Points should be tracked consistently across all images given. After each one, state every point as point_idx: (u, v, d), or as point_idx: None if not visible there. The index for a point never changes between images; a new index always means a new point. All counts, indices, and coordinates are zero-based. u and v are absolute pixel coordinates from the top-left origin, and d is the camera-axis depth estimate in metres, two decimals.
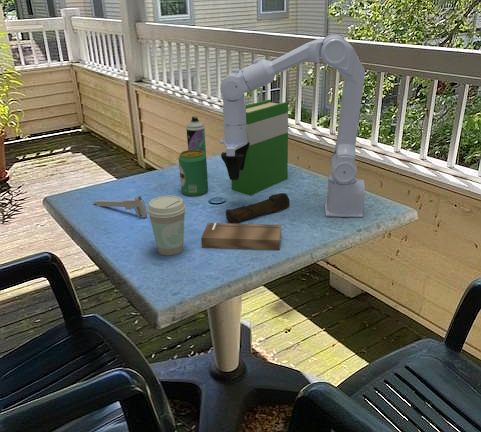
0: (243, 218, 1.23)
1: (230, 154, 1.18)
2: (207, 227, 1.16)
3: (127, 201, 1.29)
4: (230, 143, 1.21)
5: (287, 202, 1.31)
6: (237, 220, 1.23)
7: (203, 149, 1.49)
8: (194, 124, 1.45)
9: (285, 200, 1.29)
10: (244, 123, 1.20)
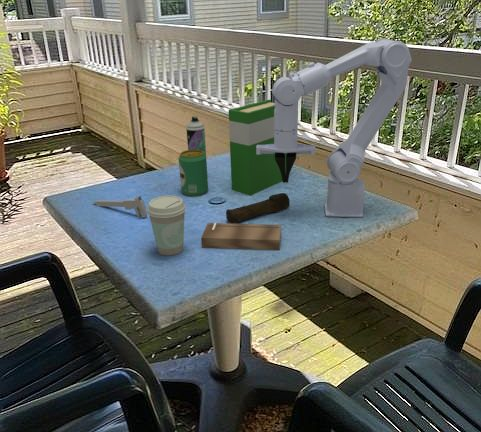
0: (243, 218, 1.23)
1: None
2: (207, 227, 1.16)
3: (127, 201, 1.29)
4: None
5: (288, 202, 1.31)
6: (237, 220, 1.22)
7: (203, 149, 1.49)
8: (194, 124, 1.45)
9: (285, 200, 1.29)
10: (297, 128, 1.17)
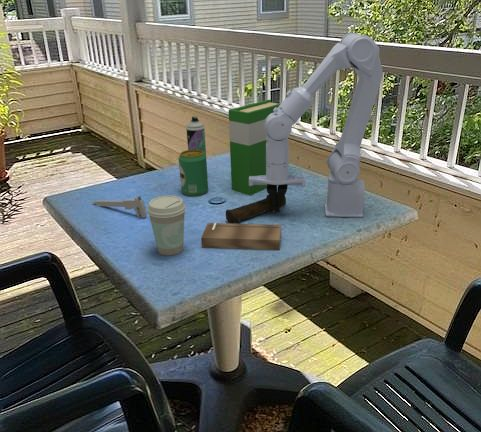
0: (243, 218, 1.23)
1: (249, 182, 1.25)
2: (207, 227, 1.16)
3: (127, 201, 1.29)
4: None
5: (284, 200, 1.32)
6: (238, 220, 1.23)
7: (203, 149, 1.49)
8: (194, 124, 1.45)
9: None
10: (288, 161, 1.20)
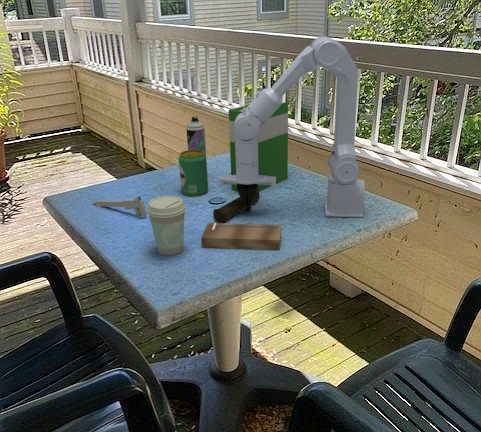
0: (231, 215, 1.25)
1: None
2: (207, 227, 1.16)
3: (127, 201, 1.29)
4: None
5: (258, 194, 1.37)
6: (227, 218, 1.24)
7: (203, 149, 1.49)
8: (194, 124, 1.45)
9: (257, 193, 1.35)
10: (257, 161, 1.21)
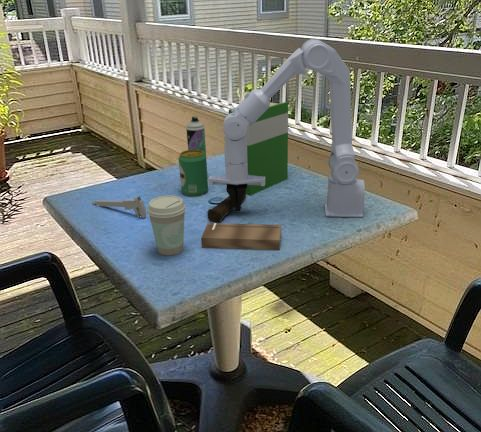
0: (224, 214, 1.26)
1: None
2: (207, 227, 1.16)
3: (126, 201, 1.29)
4: None
5: (245, 192, 1.38)
6: (222, 217, 1.25)
7: (203, 149, 1.49)
8: (194, 124, 1.45)
9: None
10: (246, 161, 1.22)
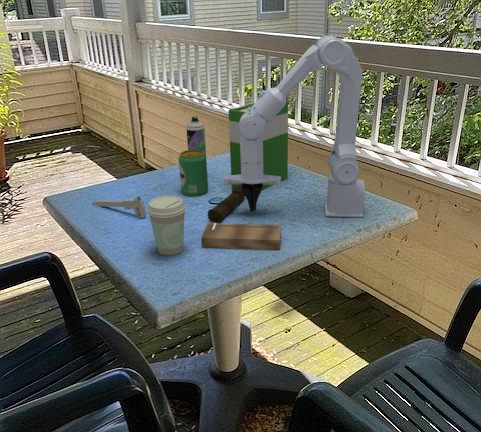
0: (225, 214, 1.26)
1: None
2: (207, 227, 1.16)
3: (126, 201, 1.29)
4: None
5: None
6: (222, 217, 1.25)
7: (203, 149, 1.49)
8: (194, 124, 1.45)
9: None
10: (262, 160, 1.21)
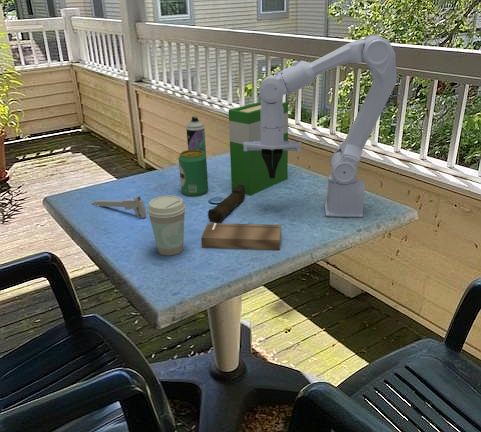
0: (225, 214, 1.26)
1: (244, 148, 1.24)
2: (207, 227, 1.16)
3: (126, 201, 1.29)
4: None
5: None
6: (222, 217, 1.24)
7: (203, 149, 1.49)
8: (194, 124, 1.45)
9: (244, 190, 1.37)
10: (282, 125, 1.19)
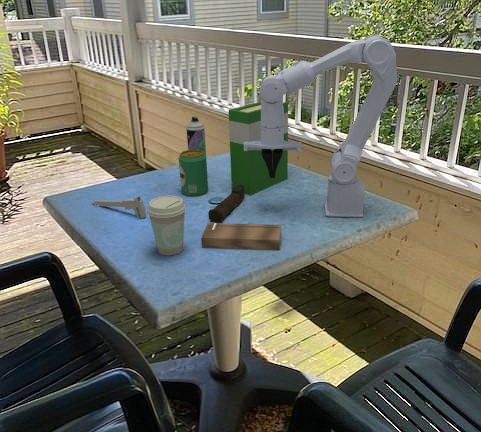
0: (225, 214, 1.26)
1: (244, 148, 1.24)
2: (207, 227, 1.16)
3: (126, 201, 1.29)
4: None
5: None
6: (223, 217, 1.24)
7: (203, 149, 1.49)
8: (194, 124, 1.45)
9: (243, 190, 1.37)
10: (282, 125, 1.19)
